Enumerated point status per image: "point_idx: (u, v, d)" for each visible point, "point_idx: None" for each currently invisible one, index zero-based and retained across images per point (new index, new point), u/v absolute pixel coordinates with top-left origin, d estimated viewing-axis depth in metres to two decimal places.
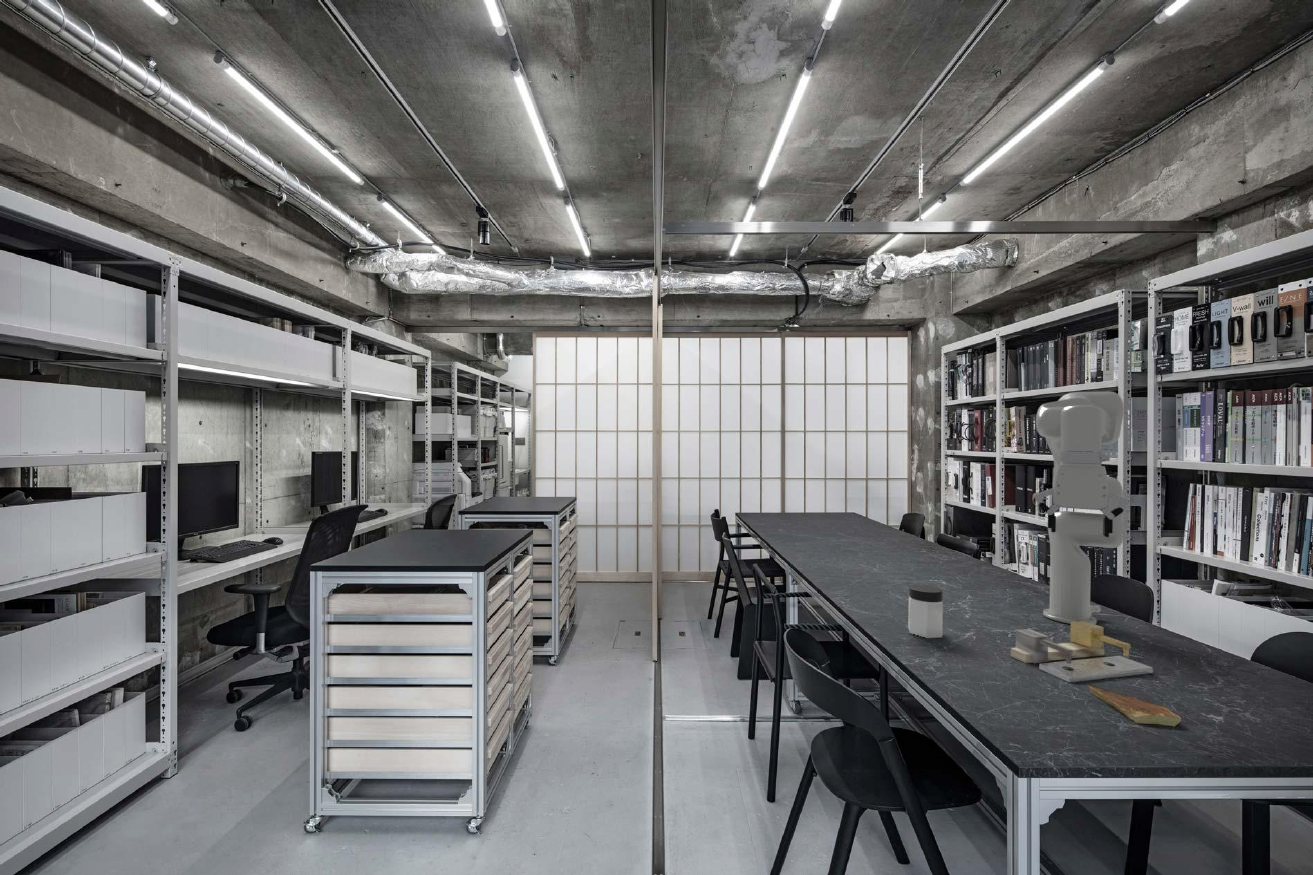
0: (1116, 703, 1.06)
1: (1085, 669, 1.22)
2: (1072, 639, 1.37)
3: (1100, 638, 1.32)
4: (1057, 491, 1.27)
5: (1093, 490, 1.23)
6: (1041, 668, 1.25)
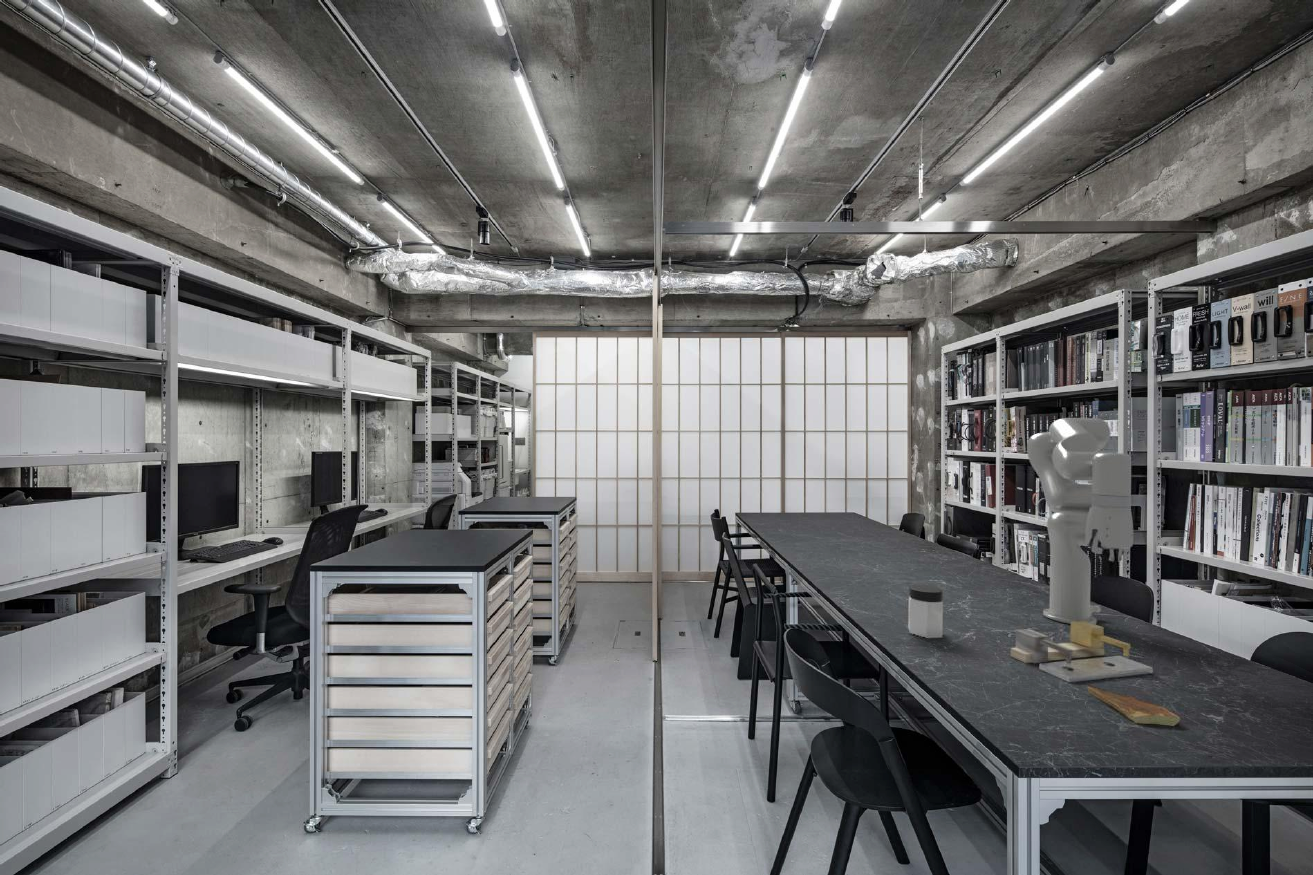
0: (1115, 703, 1.06)
1: (1085, 669, 1.22)
2: (1072, 639, 1.37)
3: (1100, 638, 1.32)
4: (1106, 534, 1.34)
5: (1127, 531, 1.36)
6: (1041, 668, 1.25)
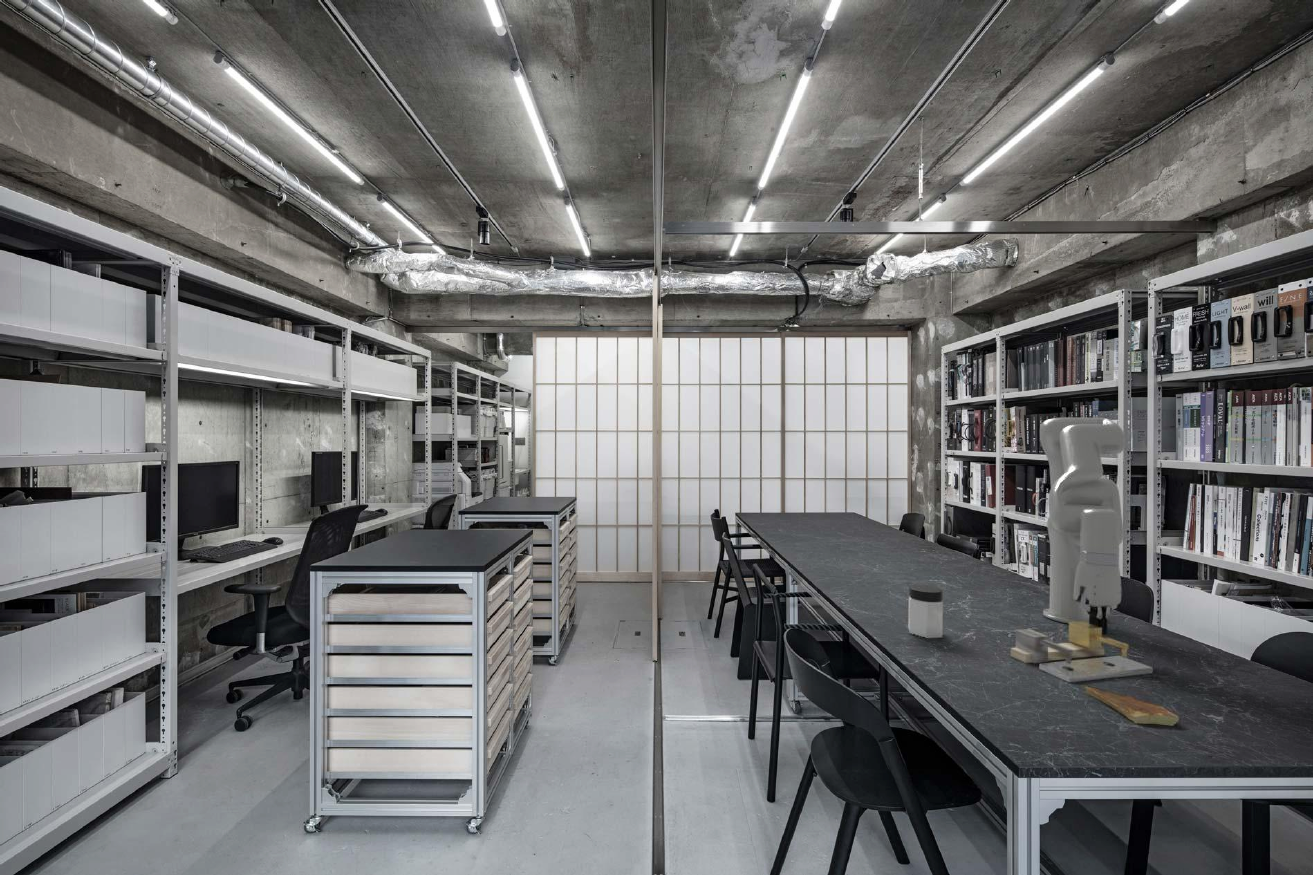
0: (1114, 703, 1.06)
1: (1085, 669, 1.22)
2: (1070, 639, 1.37)
3: (1098, 638, 1.32)
4: (1094, 592, 1.33)
5: (1115, 588, 1.35)
6: (1041, 668, 1.25)
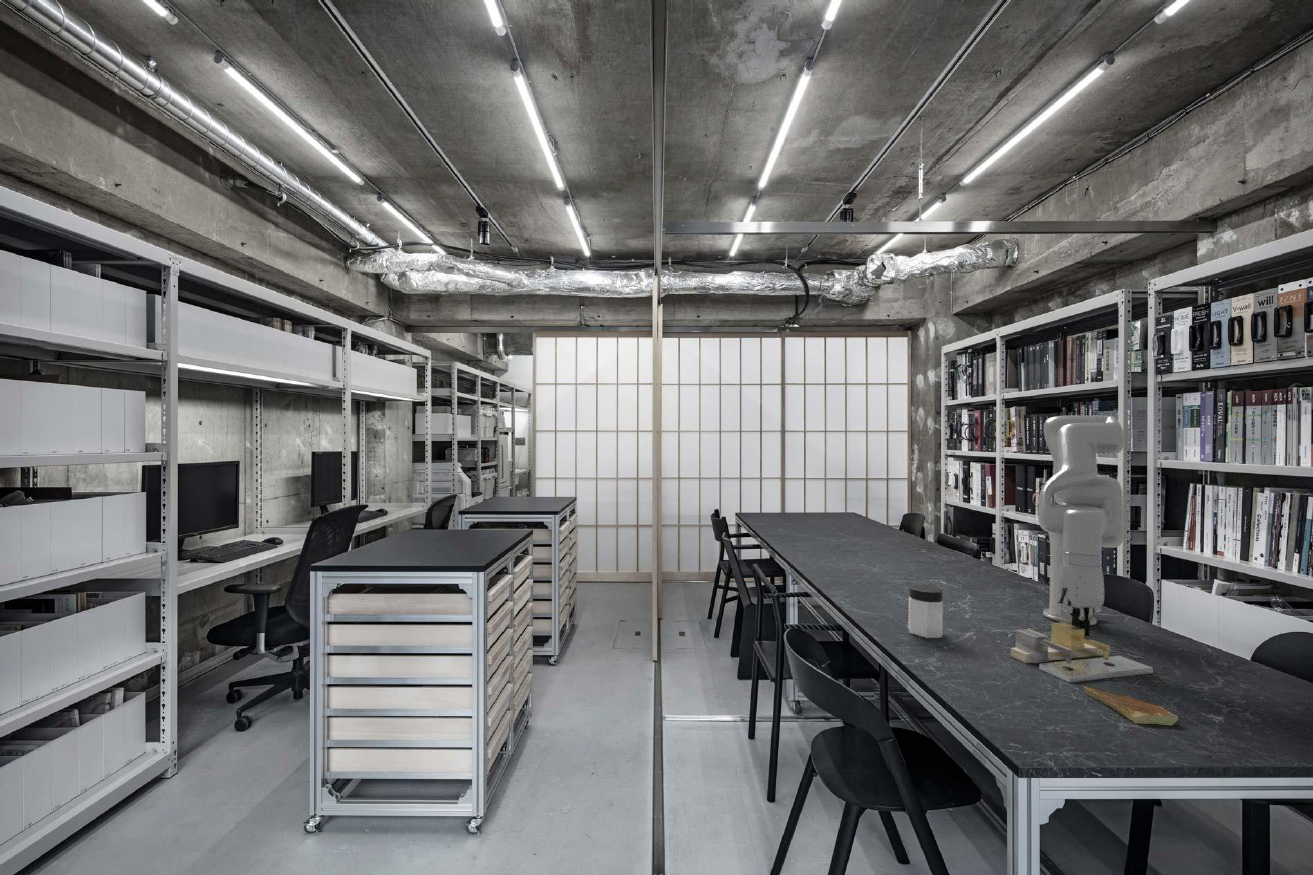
0: (1114, 703, 1.06)
1: (1085, 669, 1.22)
2: (1053, 640, 1.36)
3: (1080, 640, 1.30)
4: (1076, 593, 1.32)
5: (1098, 590, 1.33)
6: (1041, 668, 1.25)
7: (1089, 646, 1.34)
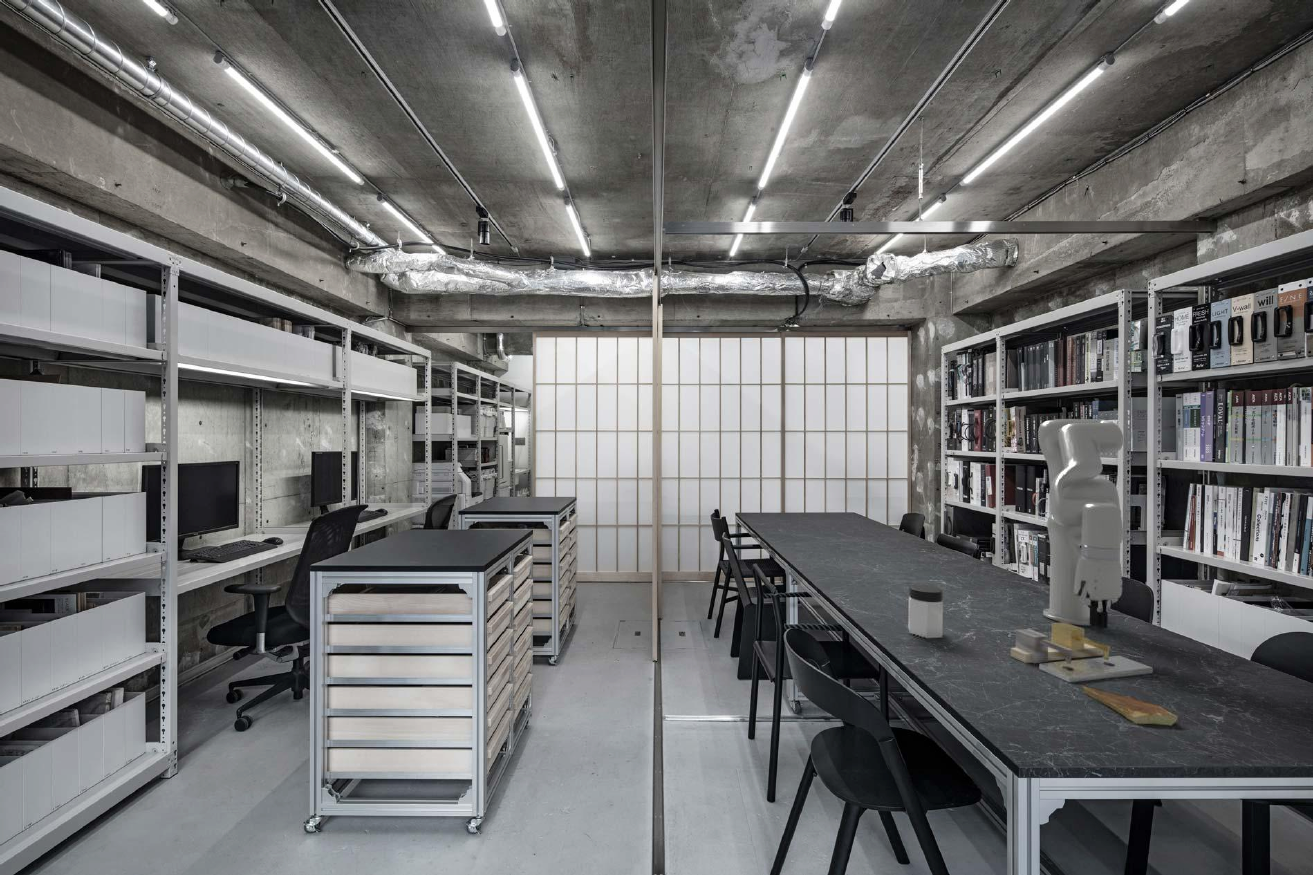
0: (1113, 703, 1.06)
1: (1085, 669, 1.22)
2: (1053, 640, 1.36)
3: (1080, 640, 1.30)
4: (1094, 586, 1.34)
5: (1116, 582, 1.35)
6: (1041, 668, 1.25)
7: (1089, 646, 1.34)
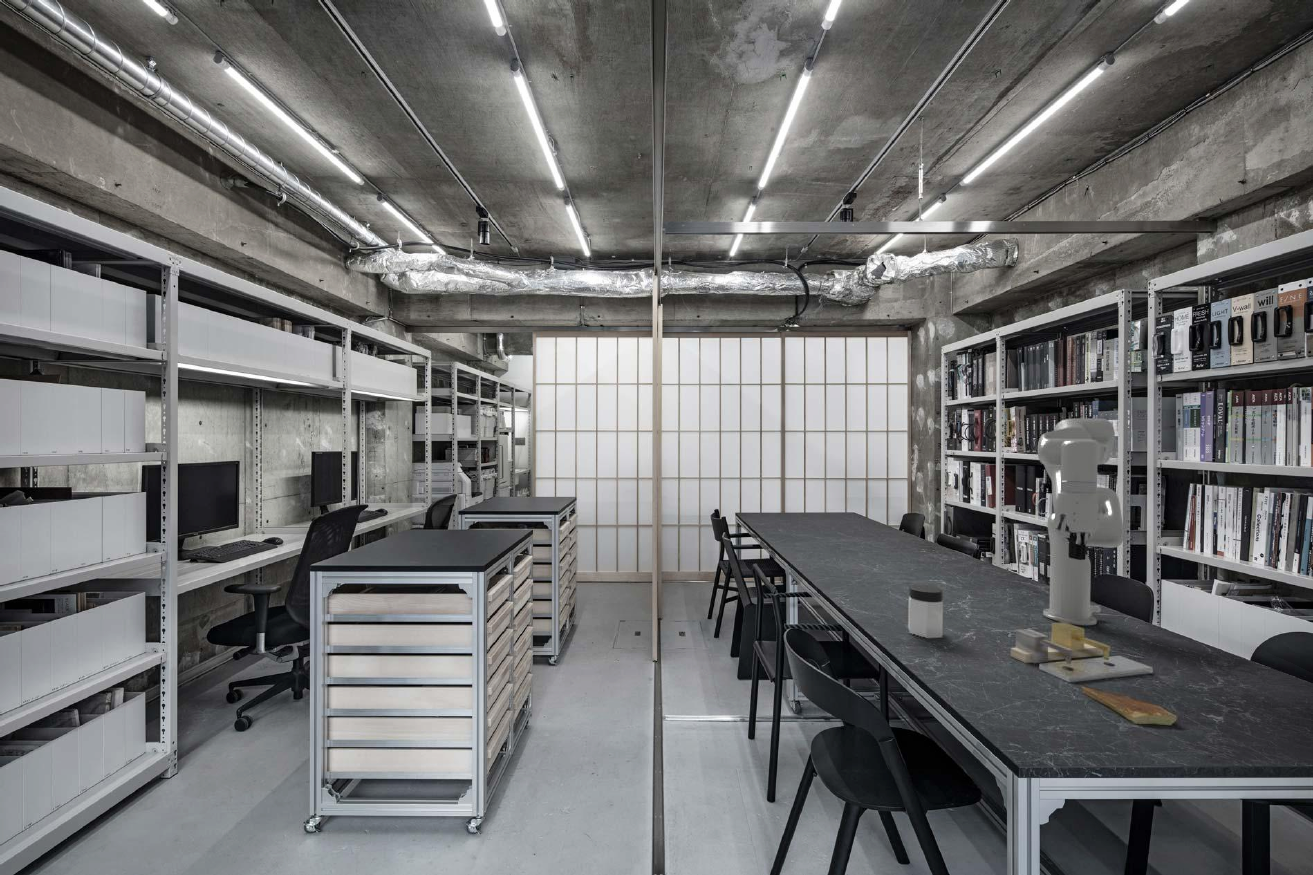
0: (1113, 704, 1.06)
1: (1085, 669, 1.22)
2: (1053, 640, 1.36)
3: (1080, 640, 1.30)
4: (1073, 519, 1.39)
5: (1093, 515, 1.41)
6: (1041, 668, 1.25)
7: (1089, 646, 1.34)
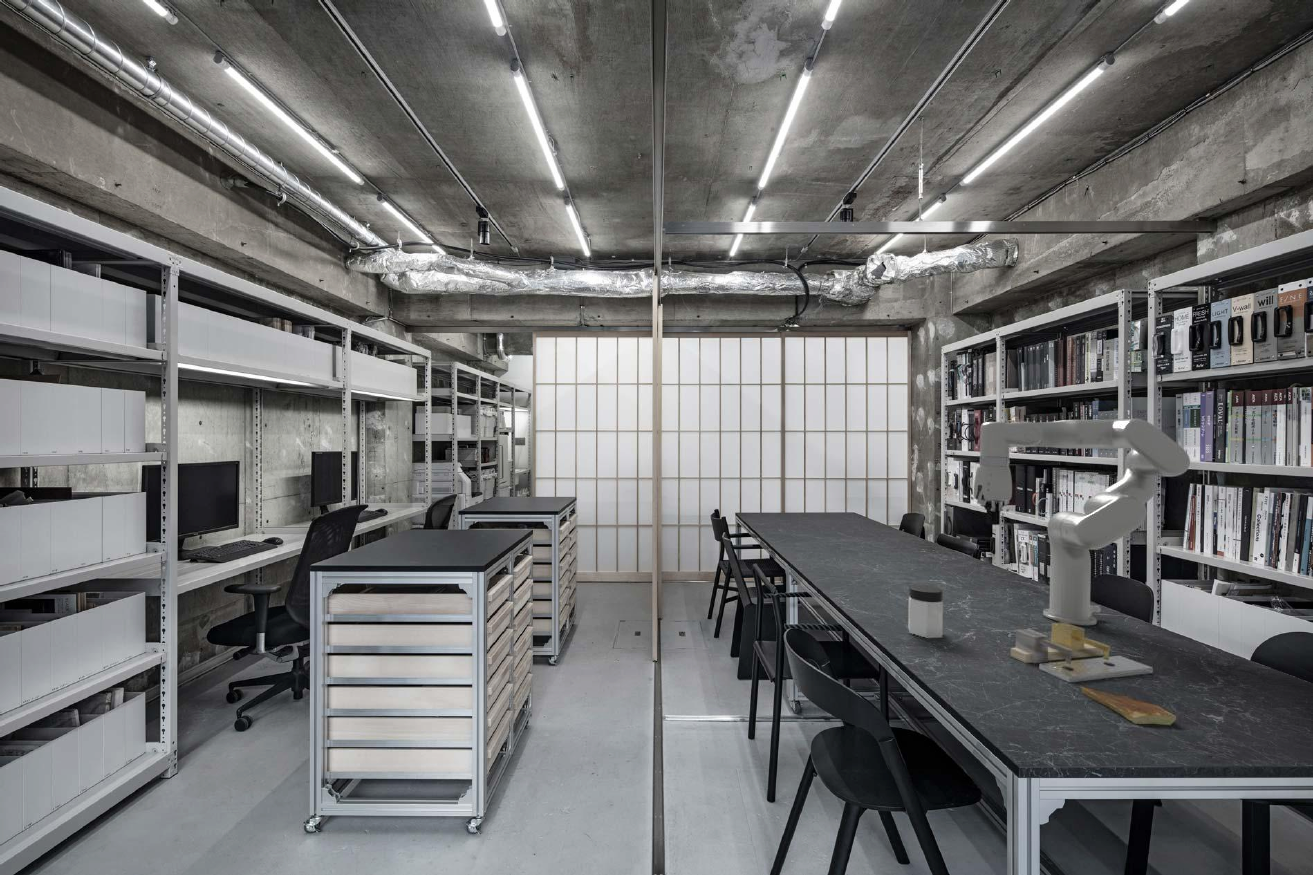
0: (1112, 704, 1.06)
1: (1085, 669, 1.22)
2: (1053, 640, 1.36)
3: (1080, 640, 1.30)
4: (987, 488, 1.62)
5: (1006, 486, 1.64)
6: (1041, 668, 1.25)
7: (1089, 646, 1.34)
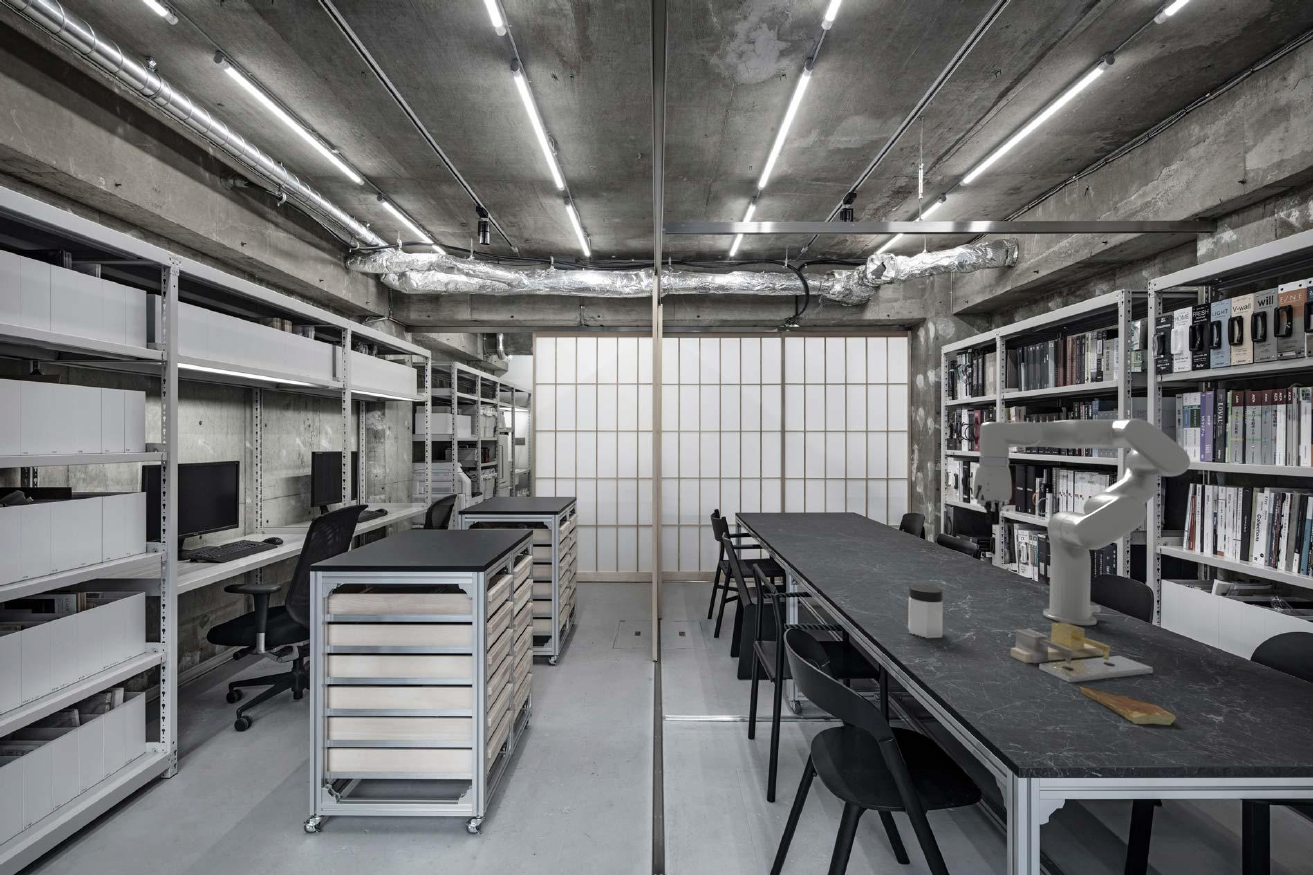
0: (1112, 704, 1.06)
1: (1085, 669, 1.22)
2: (1053, 640, 1.36)
3: (1080, 640, 1.30)
4: (987, 488, 1.62)
5: (1006, 486, 1.64)
6: (1041, 668, 1.25)
7: (1089, 646, 1.34)
